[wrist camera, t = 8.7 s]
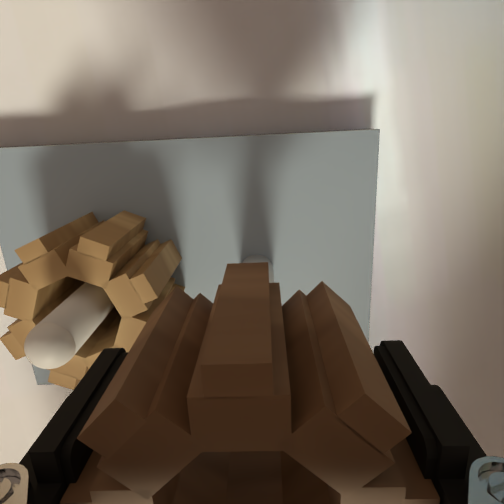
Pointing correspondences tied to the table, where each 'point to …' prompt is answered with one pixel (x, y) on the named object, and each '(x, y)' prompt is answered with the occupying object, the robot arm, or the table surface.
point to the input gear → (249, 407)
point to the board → (201, 215)
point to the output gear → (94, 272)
